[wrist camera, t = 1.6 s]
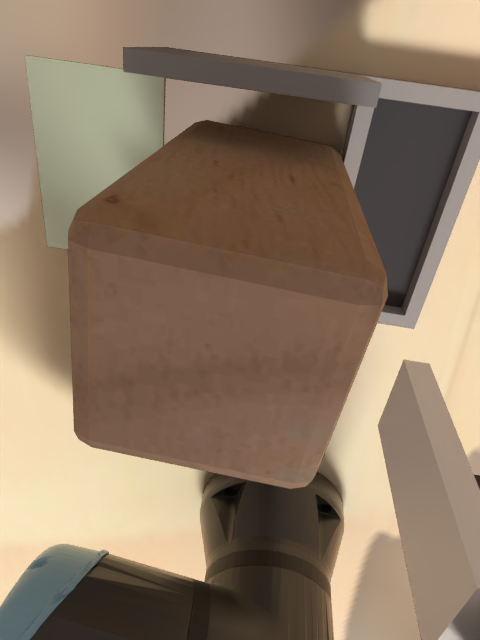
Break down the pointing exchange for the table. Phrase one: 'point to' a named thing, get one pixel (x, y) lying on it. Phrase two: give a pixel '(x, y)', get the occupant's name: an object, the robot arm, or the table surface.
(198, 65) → the channel
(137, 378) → the wooden block
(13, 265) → the table surface
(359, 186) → the pit trap
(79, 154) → the pad
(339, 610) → the table surface
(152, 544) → the table surface
